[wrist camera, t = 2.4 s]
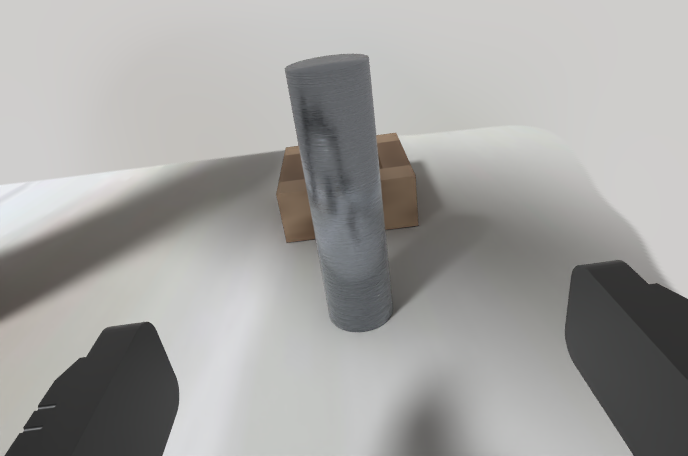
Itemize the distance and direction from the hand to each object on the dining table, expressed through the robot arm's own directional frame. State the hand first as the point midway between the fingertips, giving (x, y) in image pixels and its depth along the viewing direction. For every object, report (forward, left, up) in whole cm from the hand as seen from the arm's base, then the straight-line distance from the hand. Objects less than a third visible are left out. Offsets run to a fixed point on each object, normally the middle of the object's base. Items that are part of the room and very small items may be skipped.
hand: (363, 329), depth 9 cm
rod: (0, +12, -9) cm, 15 cm away
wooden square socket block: (0, +24, -9) cm, 25 cm away
